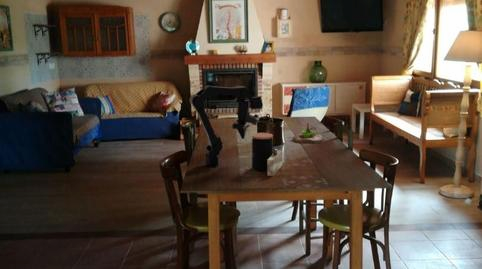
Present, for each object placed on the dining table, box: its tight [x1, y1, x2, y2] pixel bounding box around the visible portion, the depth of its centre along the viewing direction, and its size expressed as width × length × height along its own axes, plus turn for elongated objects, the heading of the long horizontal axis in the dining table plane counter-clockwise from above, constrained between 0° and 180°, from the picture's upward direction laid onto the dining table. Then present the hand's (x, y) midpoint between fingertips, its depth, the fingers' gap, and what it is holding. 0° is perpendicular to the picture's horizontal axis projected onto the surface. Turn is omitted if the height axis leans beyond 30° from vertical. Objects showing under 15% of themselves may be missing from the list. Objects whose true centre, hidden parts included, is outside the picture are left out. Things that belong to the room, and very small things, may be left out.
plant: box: [291, 122, 324, 144], centre depth 303 cm, size 20×20×11 cm
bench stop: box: [266, 148, 284, 177], centre depth 238 cm, size 3×20×11 cm, turn 162°
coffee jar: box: [251, 132, 274, 173], centre depth 239 cm, size 11×11×18 cm
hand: (243, 138), depth 251 cm, fingers closed
